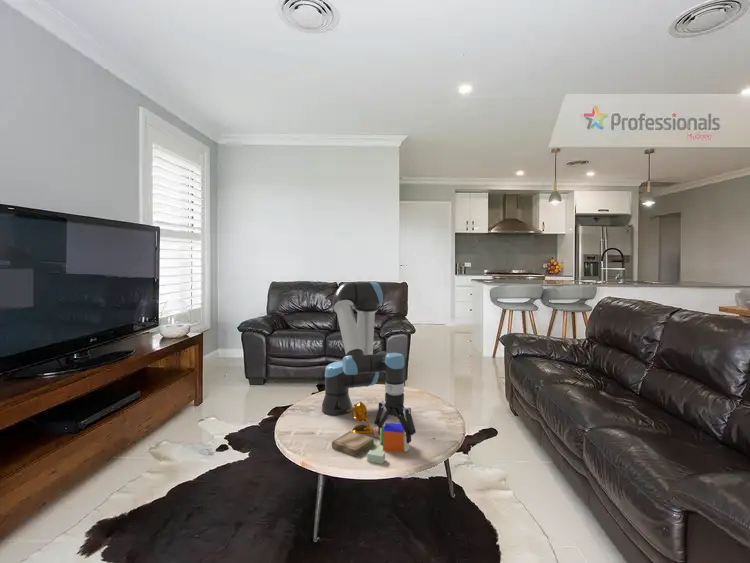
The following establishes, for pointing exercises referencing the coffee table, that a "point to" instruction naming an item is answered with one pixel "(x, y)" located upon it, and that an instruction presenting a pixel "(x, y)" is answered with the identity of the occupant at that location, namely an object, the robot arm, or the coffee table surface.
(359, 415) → the figurine
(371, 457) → the sage brick
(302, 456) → the coffee table surface
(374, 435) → the terracotta brick
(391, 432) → the cube
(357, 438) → the walnut slab
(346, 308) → the robot arm
